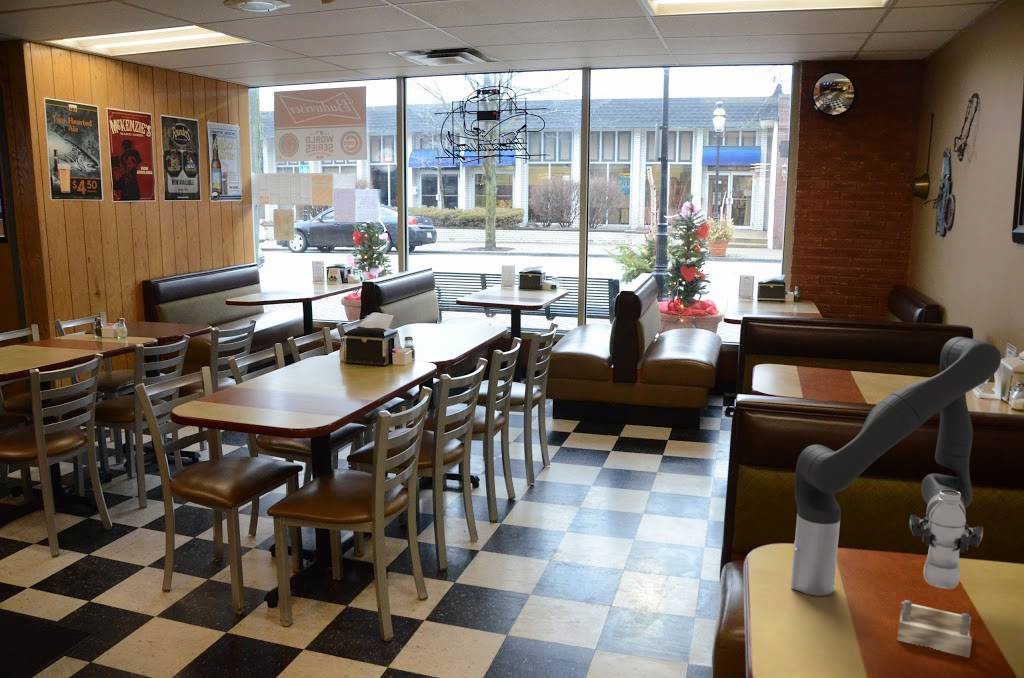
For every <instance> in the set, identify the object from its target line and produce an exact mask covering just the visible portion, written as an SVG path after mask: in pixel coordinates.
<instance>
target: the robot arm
mask: <svg viewBox="0 0 1024 678" xmlns="http://www.w3.org/2000/svg"><path fill="white" fill-rule="evenodd" d="M939 358H940V359H939V373H938V374H936V375H934V376H931V377H928V378H926V379H922V380H920V381H917V382H914V383H911V384H908V385H905V386H902V387H901V388H899V389H897V390H894V391H893V392H891V393H890V394H889V395H888V396H887V397H885V398H884V399H882V400H881V401H880V402H878V403H877V404H876V405H874V406H873V408H872V409H871V410H870V411H869V413H868V415H867V417H866V419H865V421H864V424H863V426H862V427H861V430H860V431H859V433H858V434H857V435H856V436H855V437H854V438H853V439H852V440H850V441H849V442H848V443H846V444H845V445H844V446H843V447H841V448H839V449H837V450H836V451H834V450H833V449H831V448H829V447H827V446H825V445H821V444H812V445H808V446H807V447H805V448H804V449H803V450H802V451H801V453H800V454H799V456H798V459H797V461H796V466H795V467H796V468H795V484H794V498H795V503H796V506H797V512H796V525H795V535H794V538H795V539H794V542H793V552H792V561H791V562H792V563H791V564H792V566H791V576H790V581H791V582H790V583H791V584H790V585H791V587H790V589H792V590H796V591H799V592H801V593H803V594H806V595H811V596H818V597H820V596H823V597H824V596H829V595H831V594H833V593H834V588H835V579H836V578H835V577H836V571H837V568H836V567H837V557H838V548H839V547H838V546H839V536H840V527H841V526H840V525H841V515H842V514H841V513H842V510H841V506H840V503H838V501H837V500H836V498H835V496H834V495H835V494H837V493H839V492H842V491H843V490H845V489H846V488H847V487H848V486H849V485H851V484H852V483H853V482H854V481H855V480H856V479H857V478H858V477H859V476H860V475H861V474H862V473H864V472H865V471H866V470H867V469H868V468H869V467H870V466H871V465H872V464H873V463H874V462H875V461H876V460H877V459H879V458H880V457H881V456H883V455H884V454H885V453H887V452H888V451H889V450H890V449H892V447H894V446H895V445H897V444H898V443H899V442H901V441H902V440H903V439H905V438H906V437H907V436H909V435H910V434H912V433H913V432H914V431H916V430H917V429H918V428H920V427H922V425H923V424H925V423H926V422H927V421H928V420H929V419H931V418H932V417H934V416H935V415H936V414H937V413H939V412H940V414H939V415H940V419H939V428H938V429H939V430H938V435H937V441H936V442H937V443H936V448H935V455H934V460H935V462H936V463H937V464H938V465H940V466H942V467H945V468H948V469H951V470H952V471H954V472H955V474H956V475H957V476H956V477H955V476H951V475H946V474H942V473H941V474H940V473H929V474H927V475H926V476H925V477H924V478H923V479H922V481H921V486H920V487H921V489H920V491H921V495H922V498H923V501H924V502H925V503H926V505H927V507H926V512H925V515H926V516H925V517H923V518H922V519H921V518H920V517H917V515H916V514H910V516H909V525H908V527H909V528H910V529H909V530H910V531H911V534H912V536H913V537H917V538H918V537H920V536H921V538H922V540H921V541H922V543H923V544H925V546H929V545H930V536H931V533H930V527H929V513H930V511H931V509H932V508H933V507H934V506H935V505H936V504H938V503H939V502H940V501H939V500H938V497H939V494H940V490H942V489H949V490H954V491H957V492H959V493H960V494H961V497H960V500H961V501H960V504H958V505H959V507H960V508H961V510H962V511H963V513H964V515H965V519H966V520H967V518H966V517H967V516H966V514H967V513H966V508H967V507H968V506H969V505H970V504H972V501H973V488H972V482H971V477H970V457H971V450H972V445H973V437H974V435H973V434H974V433H973V432H974V431H973V423H972V420H971V417H970V416H971V415H970V412H969V409H968V403H967V396H966V395H967V393H968V392H970V391H972V390H973V389H975V388H977V387H978V386H980V385H982V384H983V383H985V382H986V381H988V380H989V379H991V378H992V377H993V376H994V375H996V374H995V373H996V372H997V371H998V369H999V367H1000V365H1001V362H1002V354H1001V351H1000V349H998V347H997V346H995V345H994V344H992V343H990V342H987V341H983V340H979V339H975V338H969V337H964V336H955V337H952V338H950V339H949V340H948V341H946V342H945V344H944V345H943V346H942V350H941V352H940V356H939ZM922 526H923V527H922ZM983 534H984V527H983V526H981V525H976V527H969V524H967V521H966V522H965V526H964V530H963V534H962V537H961V542H960V549H959V553H965V551H968V550H969V545H970V546H971V547H973V548H978V547H979V545H980V544H981V542H982V540H983Z"/></svg>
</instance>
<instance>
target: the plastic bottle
mask: <svg viewBox="0 0 1024 678" xmlns="http://www.w3.org/2000/svg"><path fill="white" fill-rule="evenodd" d="M960 497H961V494H960V493H959V492H957V491H954V490H949V489H942V490H940V494H939V497H938V500H939V501H940V502H939V503H938V504H936V505H935V506H934V507H933V508H932V509H931V511H930V513H929V527H930V533H931V536H930V545H929V547H928V551H927V552H928V553H927V556H926V560H925V563H924V566H923V579H924V580H925V581H926V583H927V584H928V585H929V586H932V587H934V588H937V589H941V590H952V589H955V588H956V587H957V586H958V585H959V583H960V580H961V568H960V542H961V537H962V534H963V530H964V526H965V522H966V523H967V518H966V519H965V515H964V513H963V511H962V510H961V508H960V507H959V505H958V504H960V501H961V500H960Z"/></svg>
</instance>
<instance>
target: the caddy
mask: <svg viewBox="0 0 1024 678" xmlns="http://www.w3.org/2000/svg"><path fill="white" fill-rule="evenodd" d="M898 620H899V621H898V627H897V628H898V629H897V637H896V640H897V641H898V642H902V643H907V644H910V643H911V644H912V645H914V644H915V645H916V646H919V645H920V646H919V647H923V646H925V647H924V648H927V647H930V648H929V649H931V648H933V649H932V650H935V649H936V651H939V650H940V652H944V653H948V654H952V655H955V656H961V657H963V658H968V659H969V658H970V656H971V649H972V641H973V637H972V636H971V635H970V634H971V632H970V631H971V623H972V622H971V621H972V616H971V614H969V613H967V612H962V613H956V612H951V611H946V610H941V609H938V608H933V607H929V606H924V605H920V604H915V603H913V601H911V600H909V599H904V600H903V601H901V605H900V613H899V619H898ZM911 644H910V645H911Z"/></svg>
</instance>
